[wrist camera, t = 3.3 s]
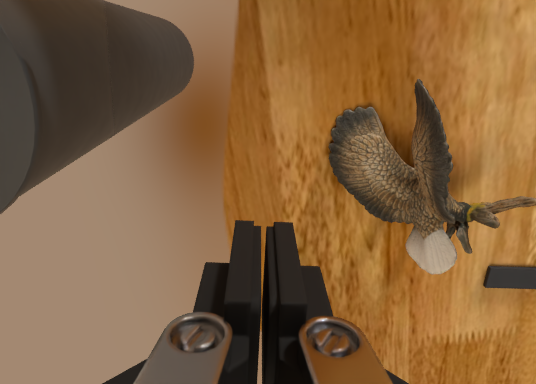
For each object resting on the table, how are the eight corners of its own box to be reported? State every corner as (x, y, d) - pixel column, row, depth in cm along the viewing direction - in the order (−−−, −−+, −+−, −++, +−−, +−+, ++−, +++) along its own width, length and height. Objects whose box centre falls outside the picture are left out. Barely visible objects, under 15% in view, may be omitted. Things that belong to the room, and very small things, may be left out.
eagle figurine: (524, 145, 22) (427, 41, 19) (556, 257, 18) (438, 151, 14) (408, 196, 28) (314, 123, 24) (411, 292, 23) (298, 221, 20)
